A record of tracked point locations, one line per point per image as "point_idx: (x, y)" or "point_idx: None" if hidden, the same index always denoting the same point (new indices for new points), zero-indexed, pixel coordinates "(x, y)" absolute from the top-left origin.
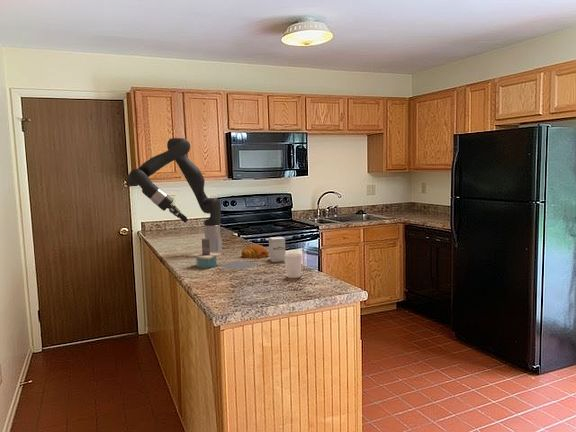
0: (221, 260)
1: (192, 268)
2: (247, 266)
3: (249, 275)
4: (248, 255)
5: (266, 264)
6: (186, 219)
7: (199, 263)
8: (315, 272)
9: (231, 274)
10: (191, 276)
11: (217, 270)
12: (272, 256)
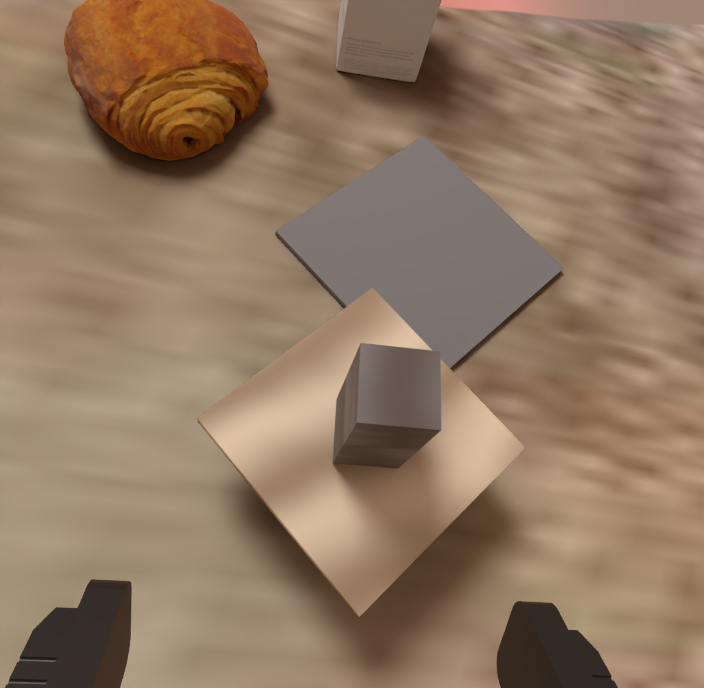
0: (165, 310)
1: None
2: (492, 224)
3: (695, 278)
4: (223, 127)
5: (444, 121)
6: (568, 636)
7: None
8: (689, 32)
9: (651, 357)
10: (654, 621)
11: (514, 411)
12: (423, 50)
